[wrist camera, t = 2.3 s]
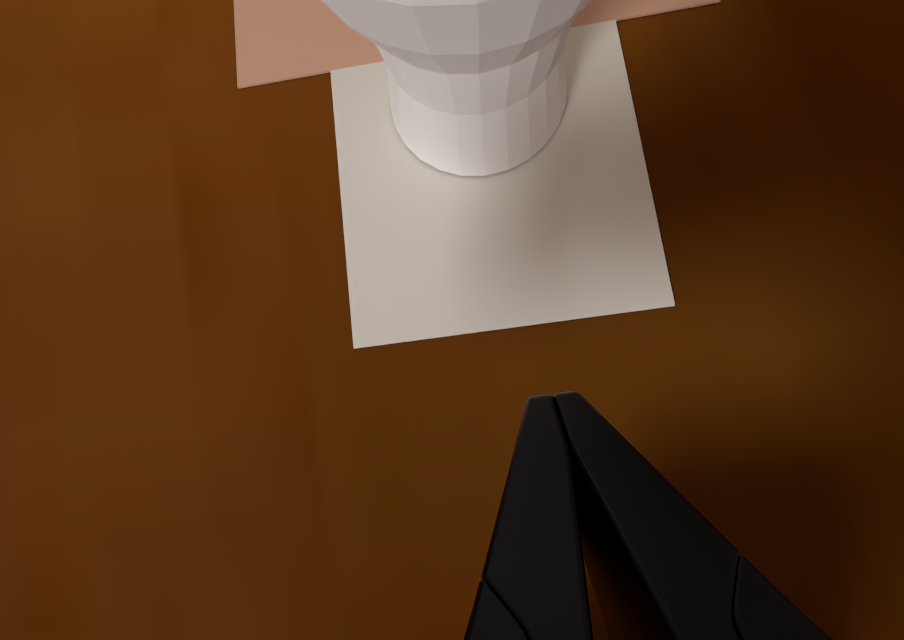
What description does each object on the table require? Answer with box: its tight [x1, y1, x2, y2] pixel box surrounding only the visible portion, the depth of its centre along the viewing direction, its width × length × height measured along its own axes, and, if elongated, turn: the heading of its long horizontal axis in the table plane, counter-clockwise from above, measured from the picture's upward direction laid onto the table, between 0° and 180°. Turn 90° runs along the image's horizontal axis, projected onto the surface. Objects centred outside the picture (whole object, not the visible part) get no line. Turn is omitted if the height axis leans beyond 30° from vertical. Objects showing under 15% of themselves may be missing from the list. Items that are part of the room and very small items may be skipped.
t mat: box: [234, 0, 721, 349], centre depth 21 cm, size 21×22×1 cm
